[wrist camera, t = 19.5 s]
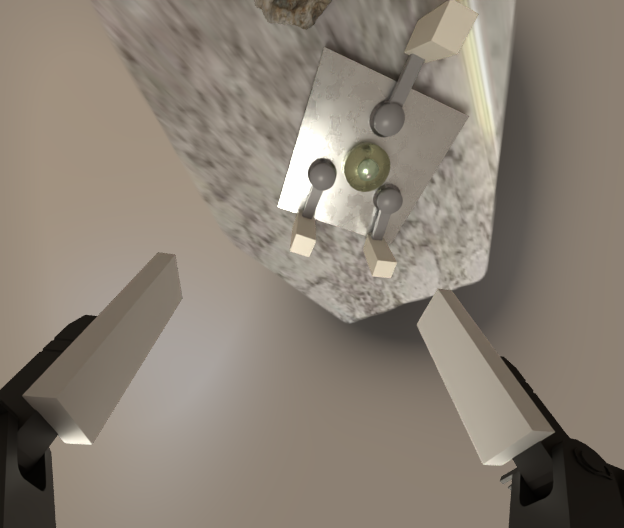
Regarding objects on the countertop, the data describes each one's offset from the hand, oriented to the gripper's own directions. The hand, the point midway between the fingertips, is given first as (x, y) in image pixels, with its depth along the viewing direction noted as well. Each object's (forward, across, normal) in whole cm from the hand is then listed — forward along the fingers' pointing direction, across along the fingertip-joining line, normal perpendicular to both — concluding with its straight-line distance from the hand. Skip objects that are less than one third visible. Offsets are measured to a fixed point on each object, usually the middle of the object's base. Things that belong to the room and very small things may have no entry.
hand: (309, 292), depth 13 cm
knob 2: (+32, +15, -8) cm, 36 cm away
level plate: (+35, +9, 0) cm, 36 cm away
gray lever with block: (+32, +11, +12) cm, 36 cm away
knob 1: (+32, +2, -6) cm, 33 cm away
